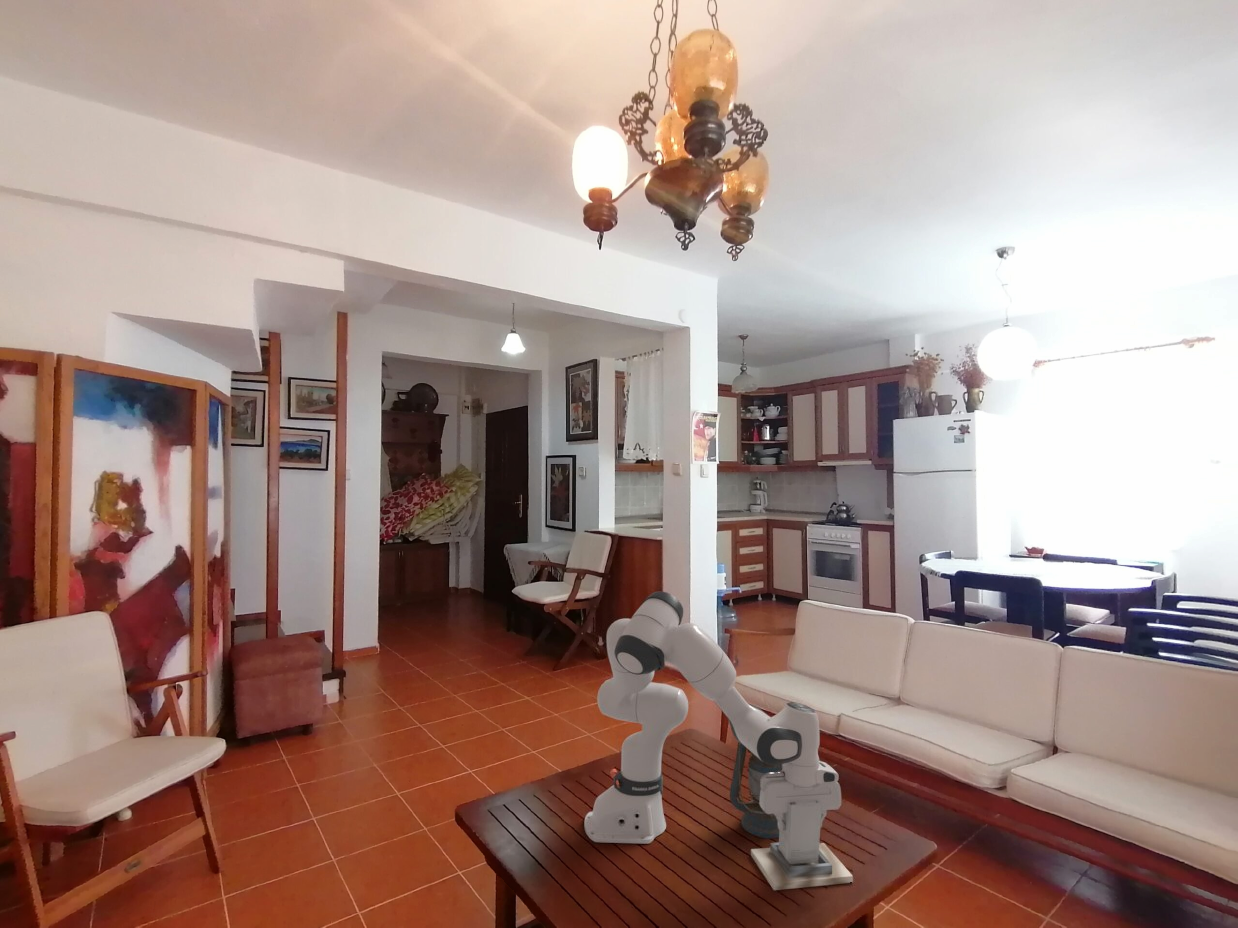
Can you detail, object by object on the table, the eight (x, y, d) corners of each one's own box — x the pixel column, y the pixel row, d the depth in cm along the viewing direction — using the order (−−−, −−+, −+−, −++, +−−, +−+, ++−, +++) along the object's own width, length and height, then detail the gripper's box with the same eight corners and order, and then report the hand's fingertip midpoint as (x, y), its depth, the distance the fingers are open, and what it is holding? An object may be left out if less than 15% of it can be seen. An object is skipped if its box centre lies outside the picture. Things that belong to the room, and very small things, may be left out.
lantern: (792, 813, 180) (793, 708, 181) (808, 842, 166) (809, 727, 167) (725, 813, 180) (726, 707, 181) (735, 841, 166) (736, 726, 167)
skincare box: (807, 848, 158) (812, 790, 158) (819, 864, 152) (824, 803, 152) (776, 849, 157) (781, 790, 157) (786, 865, 151) (791, 804, 151)
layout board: (773, 890, 146) (773, 874, 146) (750, 855, 160) (751, 841, 160) (852, 882, 149) (852, 867, 150) (823, 848, 163) (823, 834, 163)
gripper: (765, 778, 150) (765, 837, 150) (844, 774, 154) (844, 831, 153) (755, 767, 157) (755, 823, 156) (831, 762, 160) (831, 818, 159)
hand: (799, 827), depth 155 cm, fingers closed on skincare box, 8 cm apart
